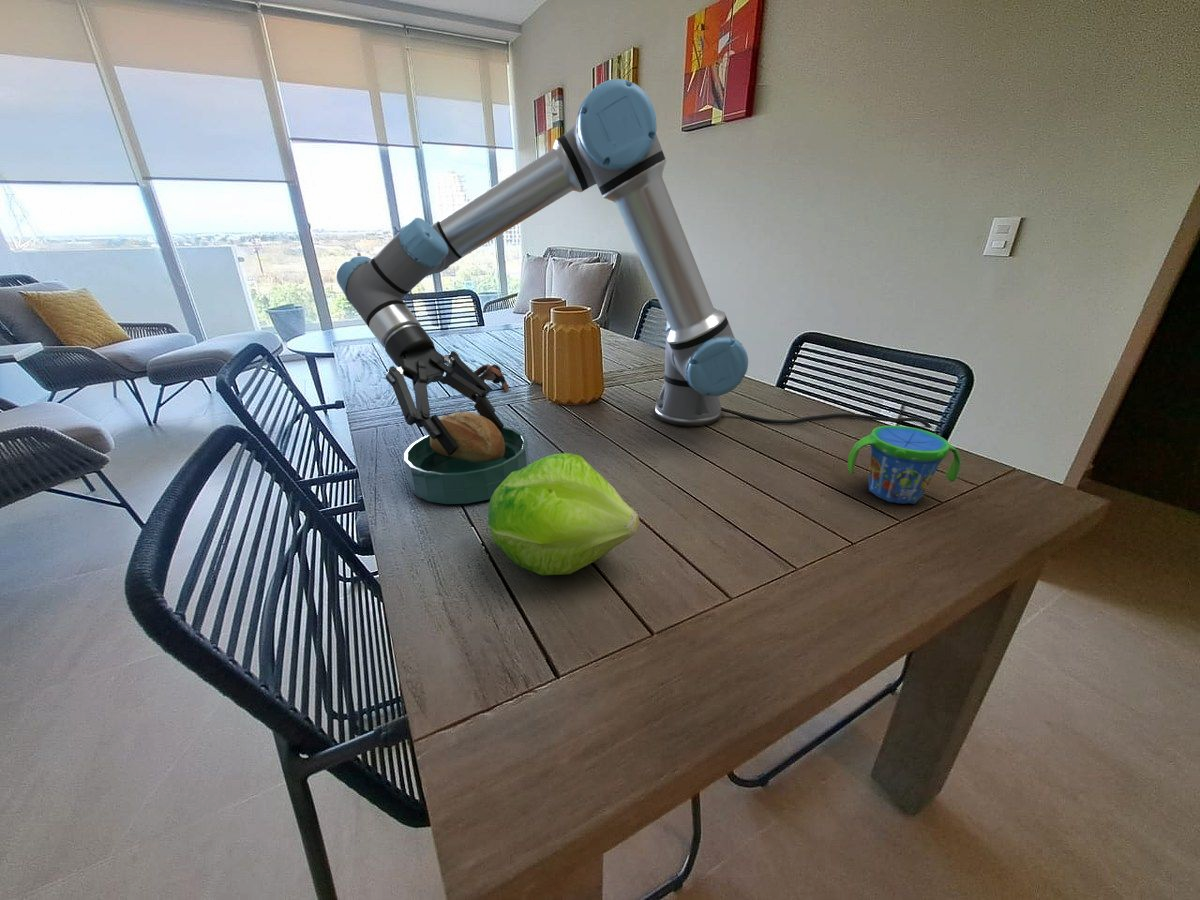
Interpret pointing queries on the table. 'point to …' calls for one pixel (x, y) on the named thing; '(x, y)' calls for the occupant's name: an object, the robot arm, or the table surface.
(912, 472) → the snack cup
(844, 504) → the table surface
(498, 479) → the bowl
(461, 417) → the bread roll
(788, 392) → the table surface
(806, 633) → the table surface
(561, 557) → the lettuce
